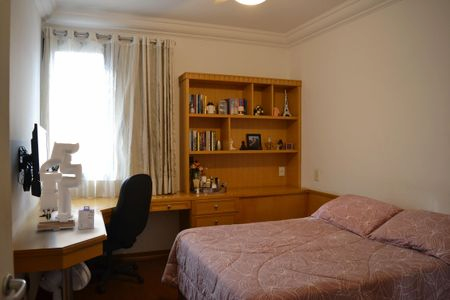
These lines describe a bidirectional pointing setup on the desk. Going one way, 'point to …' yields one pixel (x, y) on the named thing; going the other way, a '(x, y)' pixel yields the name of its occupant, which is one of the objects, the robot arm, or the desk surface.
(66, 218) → the rider
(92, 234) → the desk surface
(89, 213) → the ink cartridge box
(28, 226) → the desk surface
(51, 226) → the beam
